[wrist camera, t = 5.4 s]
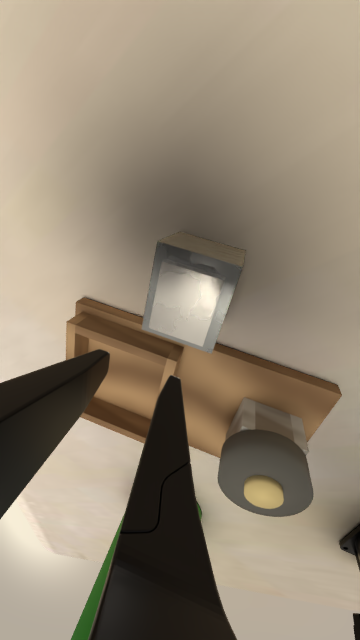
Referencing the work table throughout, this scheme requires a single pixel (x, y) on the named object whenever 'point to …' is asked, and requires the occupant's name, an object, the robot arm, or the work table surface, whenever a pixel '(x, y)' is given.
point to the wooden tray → (193, 384)
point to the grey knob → (265, 473)
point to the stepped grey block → (191, 289)
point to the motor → (97, 594)
